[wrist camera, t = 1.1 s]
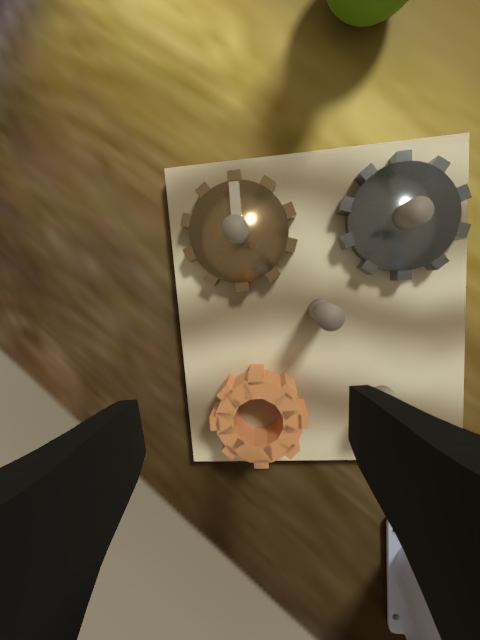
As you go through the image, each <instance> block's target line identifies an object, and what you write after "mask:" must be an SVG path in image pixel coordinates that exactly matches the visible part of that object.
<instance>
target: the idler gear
mask: <svg viewBox="0 0 480 640" xmlns="http://www.w3.org/2000/svg"><path fill="white" fill-rule="evenodd" d="M217 397H218V398H219V399H221V400H220V401H219V402H216V403H215V405H214V408H213V410H212V412H211V414H210V417H209V420H210V431H217V435H218V436H219V438H220V439H221V441H222V442H223V447H222V450H221V451H222V452H223V453H224V454H225V455H226V456H228V457H229V458H230V459H231V460H233V459H234V458H235V457H236V456H238V457H240V458H242V459H244V460H246V461H248V462H250V463H254V469H266V468H269V462H274V461H276V460H278V459H279V458H281V457H283V456H287V457H288V458H289V459H290V460H291V459H292V458H293V457H294V456H295V455H296V454H297V453H298V452H299V451H300V444H299V438H300V436H301V434H302V429H309V422H308V412H307V408H306V405H305V401H304V399H298V395H297V389H296V384H295V380H294V379H293V378H292V377H291V376H290V375H288V374H287V373H286V372H285V371H284V372H283V373H282V374H281V375H278V374H276V373H274V372H272V371H270V370H268V369H264V364H250V367H249V370H247V371H245V372H243V373H242V374H240V375H239V376H237V377H235V376H234V375H233V374H230V375H229V376H228V377H227V378H226V379H225V380H224V381H223V383H222V385H221V387H220V389H219V391H218V393H217ZM252 399H264V400H266V401H268V402H270V403H272V404H274V405H276V407H277V408H278V410H279V411H280V413H281V415H280V416H279V418H278V420H277V422H275V423H273V424H271V425H270V426H268V427H254V426H252V425H250V424H248V423H246V422H245V421H244V420H243V418H242V417H241V416H240V414H239V413H238V407H239V406H240V405H242V404H244V403H245V402H247V401H248V400H252Z"/></svg>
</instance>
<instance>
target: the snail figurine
mask: <svg viewBox="0 0 480 640" xmlns="http://www.w3.org/2000/svg"><path fill="white" fill-rule="evenodd" d="M407 1H408V0H326V2H327V4H328V6H329V8H330V9H331V11H332V12H333V13H334V14H335V16H336V17H337V18H339V19H340V20H341V21H343V22H344V23H346V24H348V25H351V26H356V27H367V26H372V25H375V24H378V23H380V22H382V21H384V20H386V19H388V18H389V17H391V16H392V15H393V14H395V13H396V12H397V11H398V10H399V9H400V8H401V7H402V6H403V5H404V4H405V3H406V2H407Z"/></svg>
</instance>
